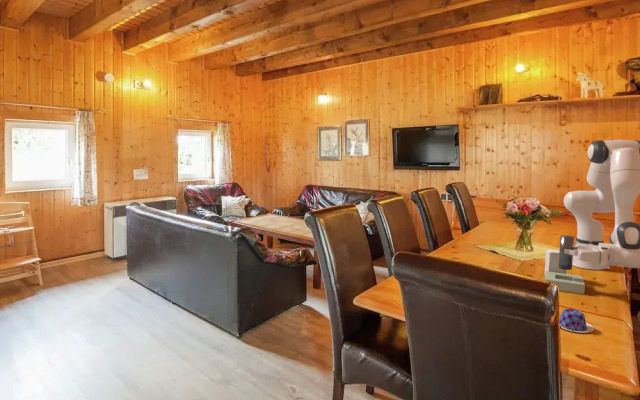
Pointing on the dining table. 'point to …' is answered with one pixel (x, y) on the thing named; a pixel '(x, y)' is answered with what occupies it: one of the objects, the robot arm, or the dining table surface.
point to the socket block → (566, 282)
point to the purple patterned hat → (574, 321)
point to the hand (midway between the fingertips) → (563, 249)
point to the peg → (564, 259)
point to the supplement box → (553, 261)
